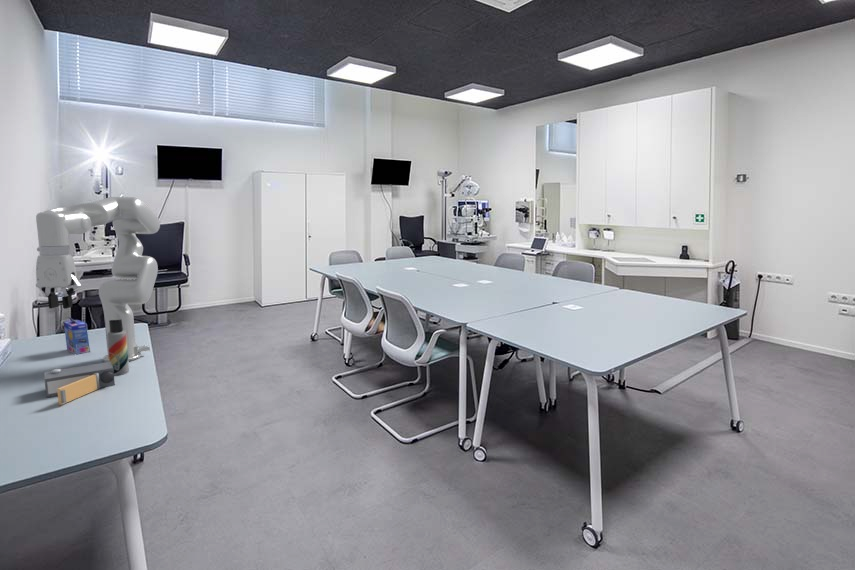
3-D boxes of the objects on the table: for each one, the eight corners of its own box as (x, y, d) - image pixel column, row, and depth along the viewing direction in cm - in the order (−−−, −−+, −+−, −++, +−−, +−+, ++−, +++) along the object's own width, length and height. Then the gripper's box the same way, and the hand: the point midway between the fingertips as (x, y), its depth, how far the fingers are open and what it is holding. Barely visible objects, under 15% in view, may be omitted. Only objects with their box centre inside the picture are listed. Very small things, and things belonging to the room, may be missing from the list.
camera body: (111, 377, 165) (110, 359, 163) (115, 386, 157) (113, 366, 156) (46, 389, 153) (43, 369, 152) (46, 398, 146) (44, 378, 145)
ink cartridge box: (65, 350, 194) (62, 316, 191) (81, 347, 198) (78, 314, 196) (74, 355, 188) (71, 320, 186) (90, 351, 192) (87, 317, 190)
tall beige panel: (97, 387, 155) (95, 372, 154) (102, 388, 155) (101, 373, 154) (58, 404, 142) (56, 388, 141) (63, 404, 141) (62, 388, 140)
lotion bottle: (109, 376, 166) (104, 321, 163) (111, 371, 171) (107, 318, 168) (128, 374, 169) (124, 320, 165) (130, 369, 174) (125, 316, 170)
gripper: (18, 251, 145) (25, 309, 148) (72, 253, 145) (78, 310, 148) (38, 249, 152) (44, 304, 155) (89, 250, 152) (94, 305, 155)
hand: (60, 307), depth 151 cm, fingers open, 3 cm apart
